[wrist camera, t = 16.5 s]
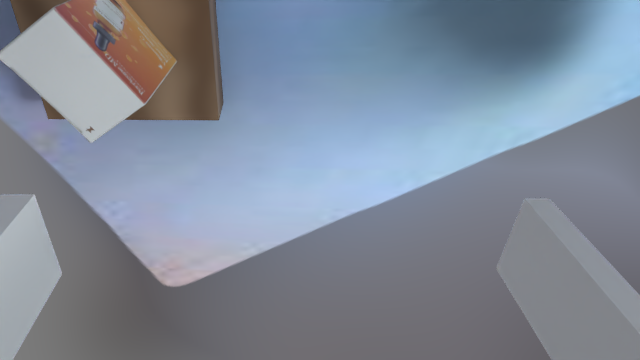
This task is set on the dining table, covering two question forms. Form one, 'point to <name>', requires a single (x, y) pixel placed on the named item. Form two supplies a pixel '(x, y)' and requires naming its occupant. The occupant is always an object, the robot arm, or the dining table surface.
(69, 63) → the small box
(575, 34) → the dining table surface
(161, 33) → the walnut block
